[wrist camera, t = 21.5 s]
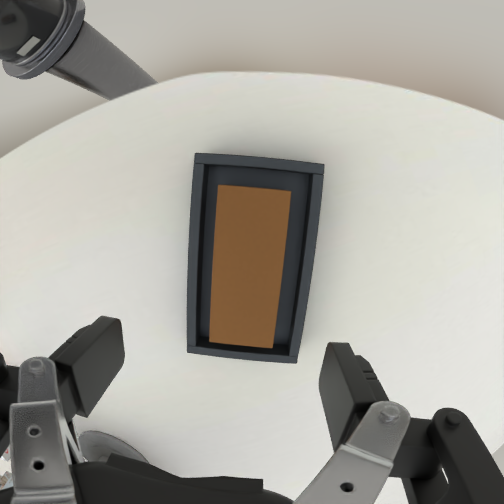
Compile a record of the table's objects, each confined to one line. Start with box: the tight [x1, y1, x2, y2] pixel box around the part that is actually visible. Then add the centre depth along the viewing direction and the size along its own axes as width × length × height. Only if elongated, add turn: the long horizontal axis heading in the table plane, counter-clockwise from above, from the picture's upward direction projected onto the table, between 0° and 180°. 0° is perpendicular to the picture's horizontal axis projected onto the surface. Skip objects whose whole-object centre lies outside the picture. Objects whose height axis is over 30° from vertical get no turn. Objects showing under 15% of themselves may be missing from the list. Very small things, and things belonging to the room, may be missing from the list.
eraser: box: [209, 185, 291, 348], centre depth 23 cm, size 12×5×4 cm, turn 175°
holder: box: [187, 153, 324, 364], centre depth 24 cm, size 17×10×2 cm, turn 175°
